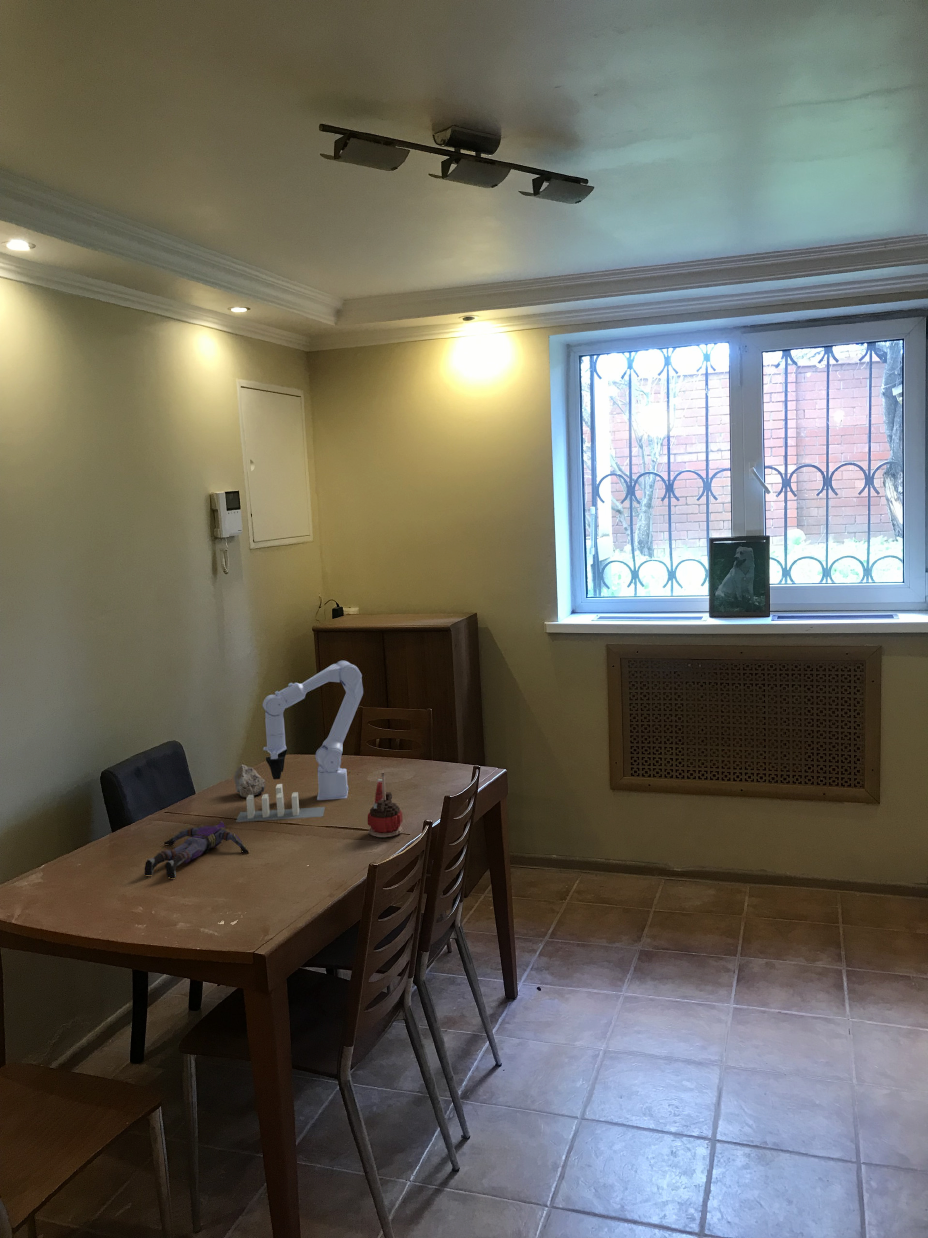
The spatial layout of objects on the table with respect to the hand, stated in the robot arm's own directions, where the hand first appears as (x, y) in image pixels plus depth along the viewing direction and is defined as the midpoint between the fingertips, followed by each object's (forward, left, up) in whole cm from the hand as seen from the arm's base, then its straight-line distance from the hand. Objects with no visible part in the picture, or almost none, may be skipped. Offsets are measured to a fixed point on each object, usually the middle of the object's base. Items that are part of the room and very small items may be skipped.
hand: (278, 775), depth 303 cm
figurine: (+19, +42, -10) cm, 47 cm away
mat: (-1, +11, -9) cm, 15 cm away
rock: (+12, -11, -10) cm, 19 cm away
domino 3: (0, 0, -9) cm, 9 cm away
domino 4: (-1, +11, -9) cm, 14 cm away
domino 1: (+8, +11, -9) cm, 16 cm away
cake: (-33, +33, -10) cm, 48 cm away
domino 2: (+3, +11, -9) cm, 15 cm away
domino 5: (-6, +11, -9) cm, 15 cm away
